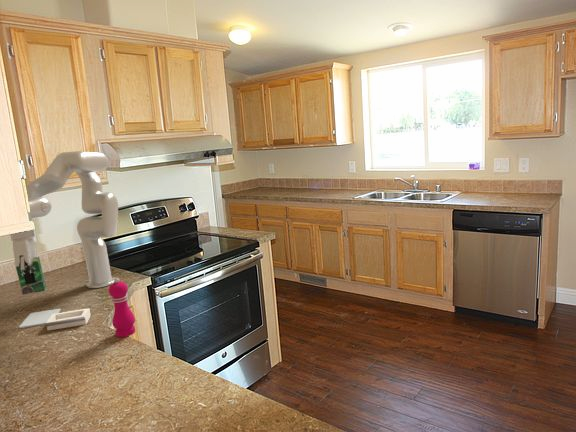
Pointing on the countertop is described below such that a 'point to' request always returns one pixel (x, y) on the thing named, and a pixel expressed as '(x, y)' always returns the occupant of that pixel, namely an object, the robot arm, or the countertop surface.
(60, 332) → the countertop surface
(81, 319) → the caddy
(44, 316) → the tile
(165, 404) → the countertop surface
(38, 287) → the coffee box
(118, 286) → the pepper mill
